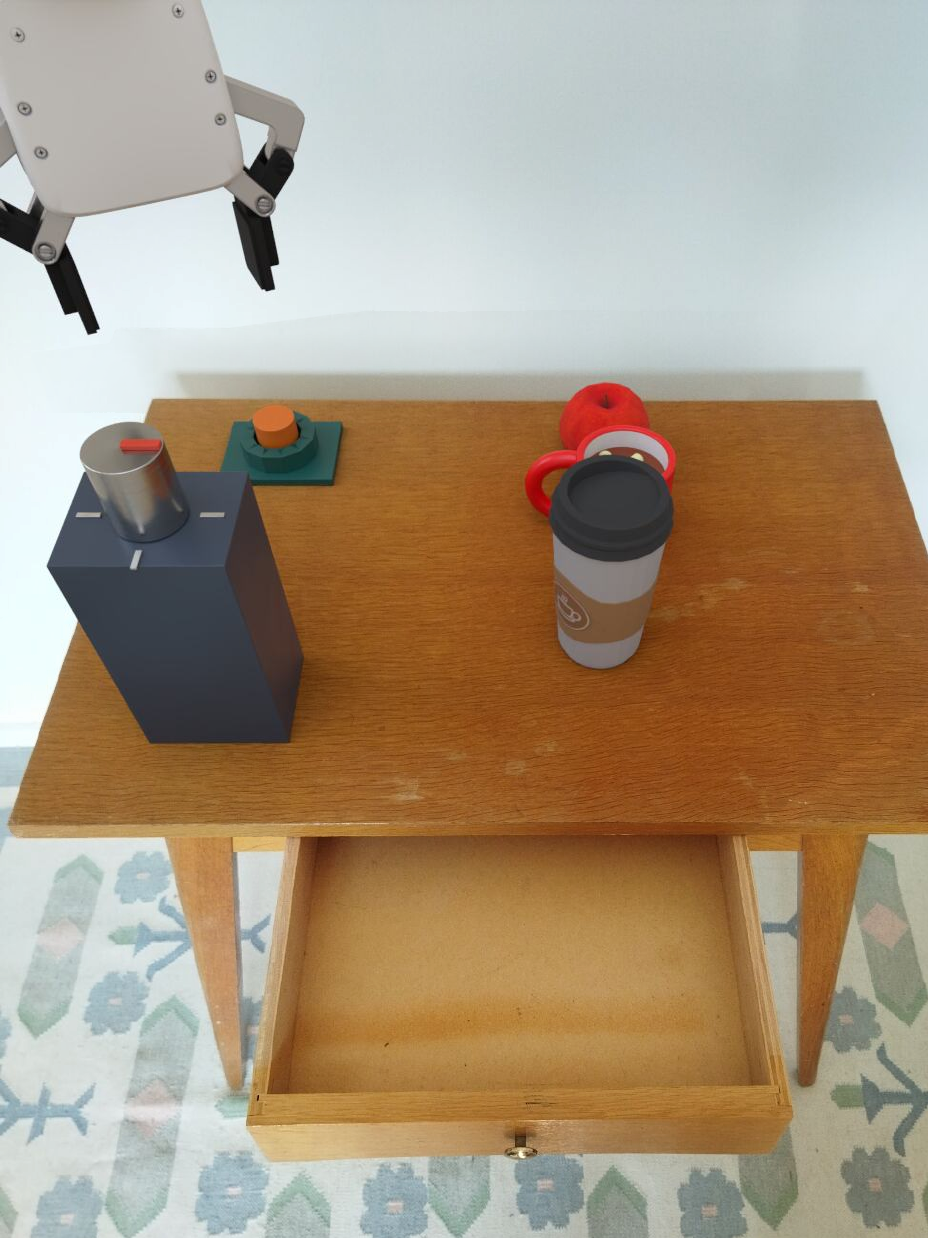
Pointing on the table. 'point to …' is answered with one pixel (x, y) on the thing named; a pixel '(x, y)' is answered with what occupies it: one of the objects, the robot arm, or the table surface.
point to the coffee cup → (607, 555)
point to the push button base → (286, 454)
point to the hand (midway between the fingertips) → (177, 299)
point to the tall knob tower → (187, 615)
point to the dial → (135, 481)
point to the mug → (603, 442)
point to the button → (275, 426)
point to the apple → (600, 412)
